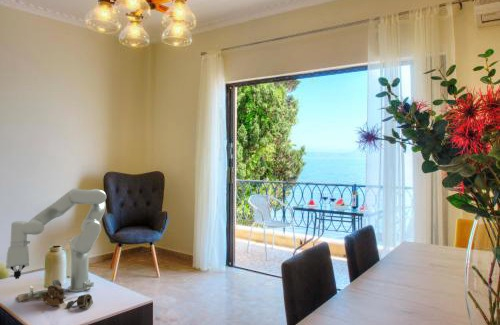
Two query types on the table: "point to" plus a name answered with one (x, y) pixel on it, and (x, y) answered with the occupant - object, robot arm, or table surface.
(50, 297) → the wooden carving
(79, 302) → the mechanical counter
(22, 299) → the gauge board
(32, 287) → the plunger
